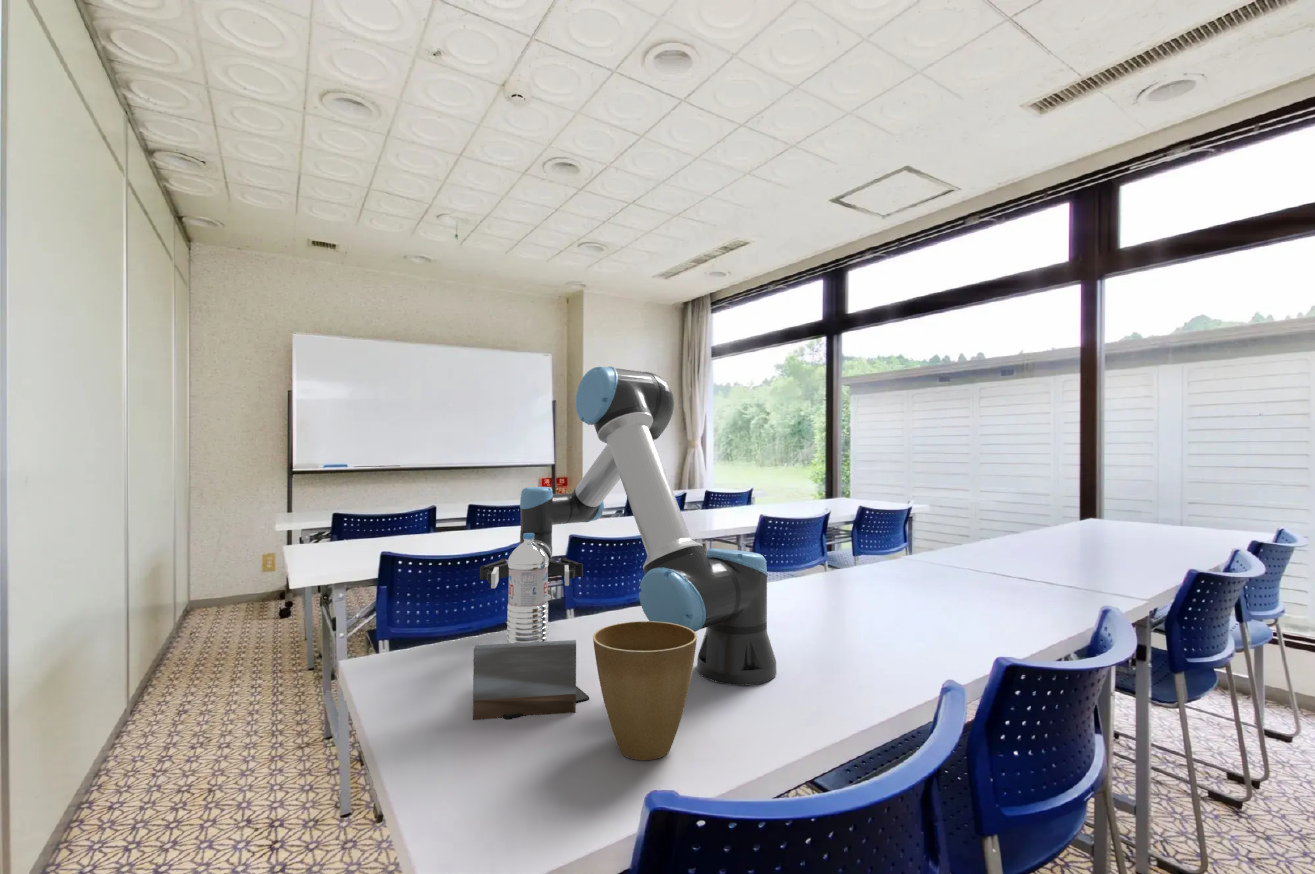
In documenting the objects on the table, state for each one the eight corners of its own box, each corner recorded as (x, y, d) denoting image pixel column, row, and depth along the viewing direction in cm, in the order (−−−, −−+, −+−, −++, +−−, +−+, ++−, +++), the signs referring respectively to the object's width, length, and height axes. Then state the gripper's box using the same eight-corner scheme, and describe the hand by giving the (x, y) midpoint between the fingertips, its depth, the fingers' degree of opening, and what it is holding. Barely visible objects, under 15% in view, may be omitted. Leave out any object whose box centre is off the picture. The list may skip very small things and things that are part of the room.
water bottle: (537, 689, 96) (539, 536, 97) (499, 686, 97) (501, 535, 98) (553, 674, 103) (554, 531, 103) (517, 671, 104) (519, 530, 105)
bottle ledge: (483, 685, 105) (484, 623, 106) (573, 679, 108) (573, 619, 108) (472, 720, 92) (473, 649, 92) (575, 712, 94) (576, 643, 95)
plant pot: (718, 753, 82) (718, 638, 82) (628, 788, 73) (629, 659, 73) (657, 714, 94) (657, 614, 94) (573, 740, 85) (574, 630, 86)
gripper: (590, 574, 133) (596, 597, 112) (476, 578, 129) (461, 602, 108) (590, 541, 133) (597, 557, 112) (476, 544, 129) (461, 561, 108)
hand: (530, 579), depth 110 cm, fingers open, 13 cm apart
